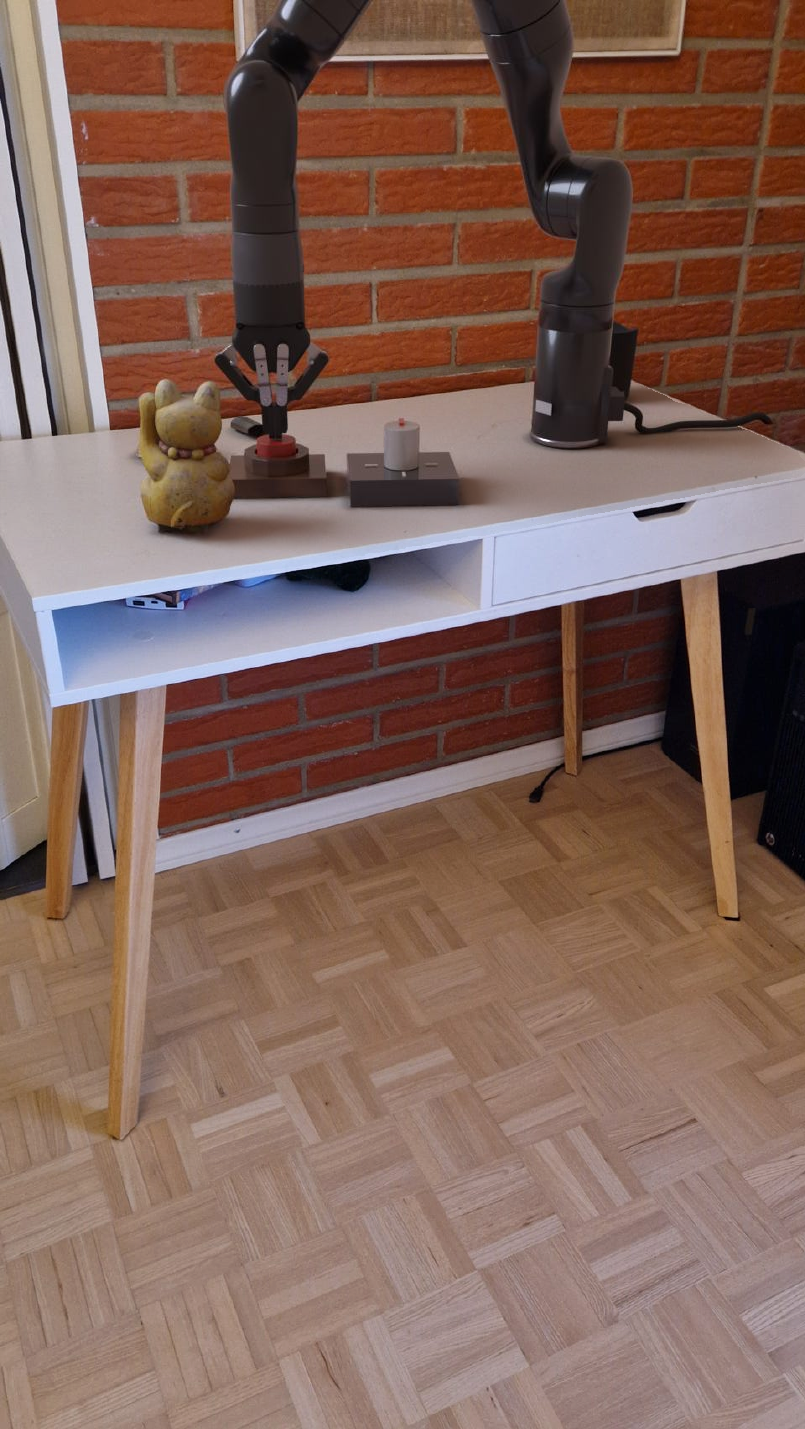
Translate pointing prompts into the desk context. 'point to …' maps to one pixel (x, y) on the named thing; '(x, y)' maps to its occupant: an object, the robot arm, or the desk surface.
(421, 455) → the panel
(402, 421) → the knob
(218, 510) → the decorative figurine
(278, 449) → the button
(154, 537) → the desk surface
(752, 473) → the desk surface
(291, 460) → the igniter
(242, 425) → the block
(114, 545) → the desk surface
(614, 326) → the dark upright prism
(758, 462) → the desk surface
